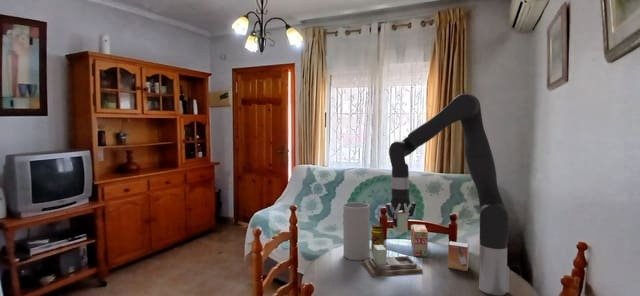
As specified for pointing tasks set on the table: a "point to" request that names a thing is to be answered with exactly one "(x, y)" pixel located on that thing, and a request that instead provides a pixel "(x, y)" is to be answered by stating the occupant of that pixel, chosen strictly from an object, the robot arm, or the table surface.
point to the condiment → (377, 235)
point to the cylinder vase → (356, 231)
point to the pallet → (393, 266)
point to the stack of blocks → (419, 240)
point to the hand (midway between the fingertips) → (400, 226)
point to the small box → (458, 255)
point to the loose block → (402, 222)
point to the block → (379, 255)
